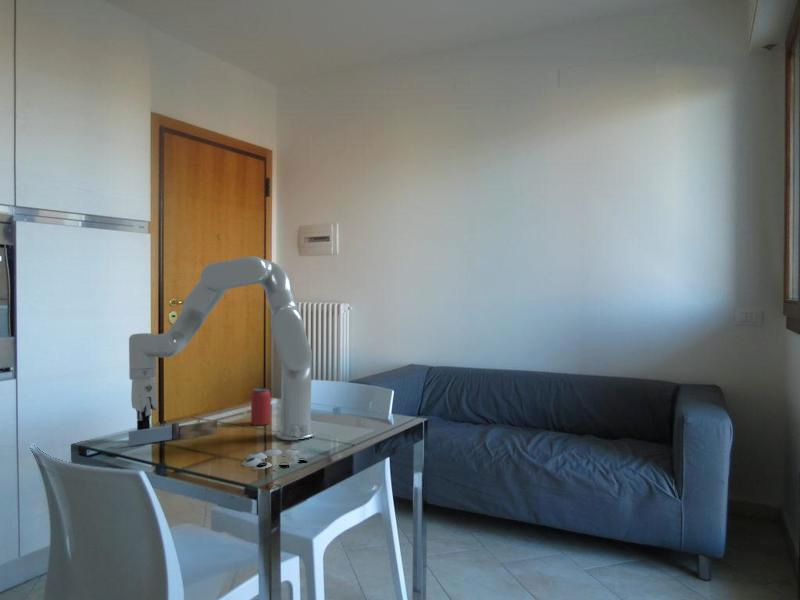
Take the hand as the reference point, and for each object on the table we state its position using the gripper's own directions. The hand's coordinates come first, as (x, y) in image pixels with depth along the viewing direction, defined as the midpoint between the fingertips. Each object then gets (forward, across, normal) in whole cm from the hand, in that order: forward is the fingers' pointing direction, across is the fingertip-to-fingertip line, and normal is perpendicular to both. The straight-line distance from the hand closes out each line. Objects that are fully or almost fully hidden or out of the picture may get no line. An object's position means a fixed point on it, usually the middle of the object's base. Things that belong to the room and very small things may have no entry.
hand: (143, 432), depth 173 cm
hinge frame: (+3, -6, -14) cm, 15 cm away
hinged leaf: (+2, -5, 0) cm, 6 cm away
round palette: (+4, -46, -21) cm, 50 cm away
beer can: (+3, -3, -38) cm, 39 cm away
